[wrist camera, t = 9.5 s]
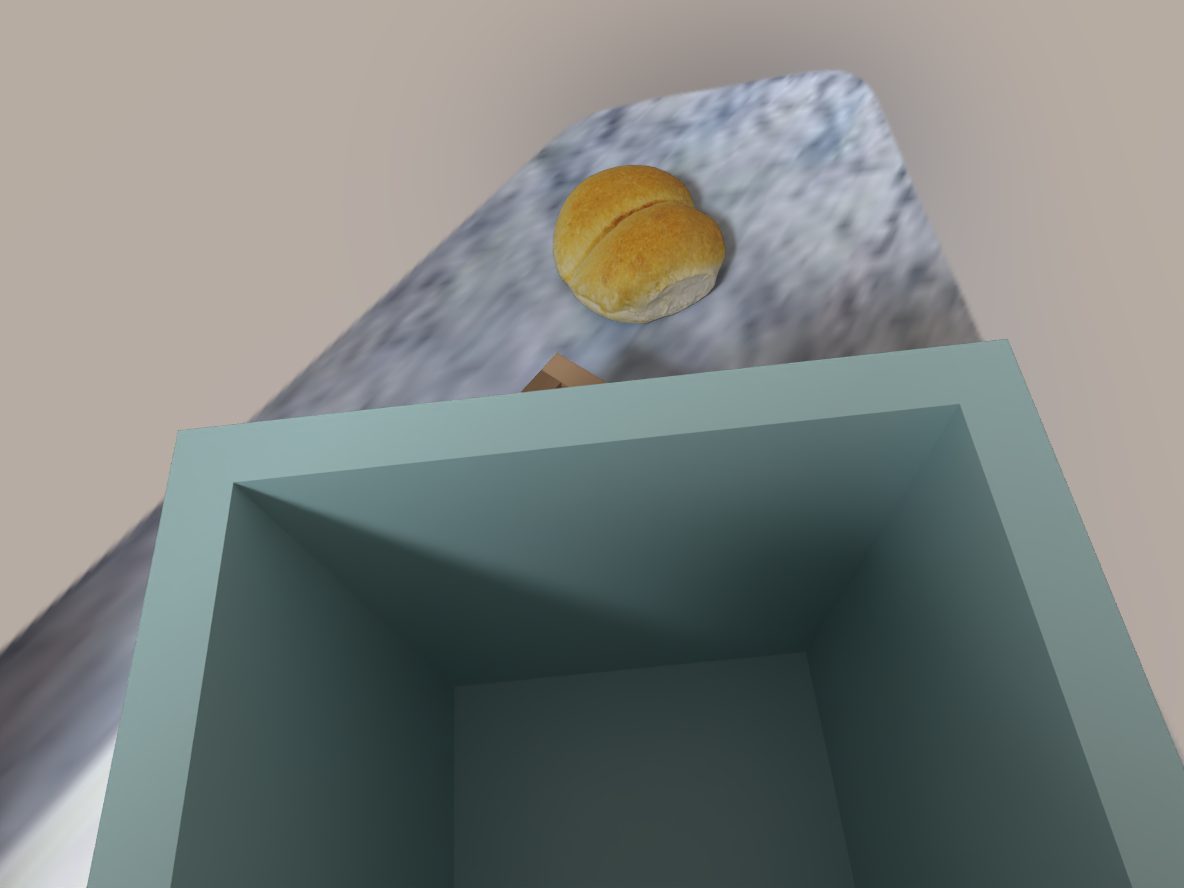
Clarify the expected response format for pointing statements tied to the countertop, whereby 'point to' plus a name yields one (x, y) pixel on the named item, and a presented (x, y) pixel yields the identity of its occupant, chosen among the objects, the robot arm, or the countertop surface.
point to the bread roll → (636, 245)
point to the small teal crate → (642, 647)
